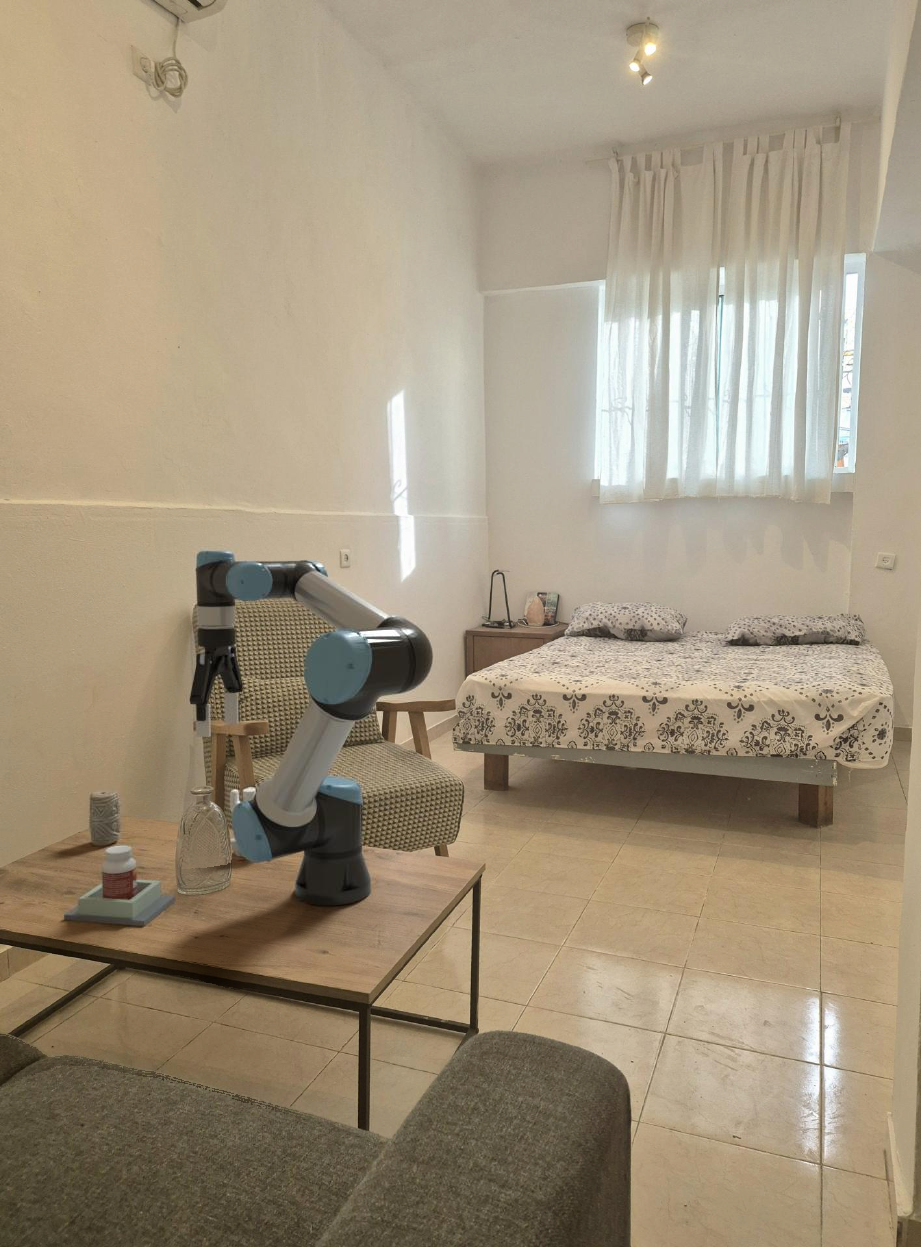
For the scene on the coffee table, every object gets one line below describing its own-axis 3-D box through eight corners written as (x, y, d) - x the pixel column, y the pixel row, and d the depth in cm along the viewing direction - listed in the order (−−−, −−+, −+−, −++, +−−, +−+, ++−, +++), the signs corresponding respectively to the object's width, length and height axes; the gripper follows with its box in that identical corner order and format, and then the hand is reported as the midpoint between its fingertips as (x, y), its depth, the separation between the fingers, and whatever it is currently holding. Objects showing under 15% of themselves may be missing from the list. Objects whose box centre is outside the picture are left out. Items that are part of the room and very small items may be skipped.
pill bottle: (140, 908, 170) (139, 850, 169) (106, 915, 166) (105, 856, 165) (132, 897, 175) (131, 841, 174) (99, 903, 171) (97, 847, 171)
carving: (83, 846, 207) (81, 795, 206) (104, 836, 214) (103, 787, 213) (107, 849, 205) (105, 797, 204) (127, 838, 212) (126, 789, 211)
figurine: (260, 861, 198) (260, 794, 197) (223, 856, 201) (222, 791, 199) (277, 850, 205) (276, 786, 203) (240, 846, 208) (239, 782, 206)
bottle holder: (175, 900, 176) (175, 881, 175) (144, 926, 164) (143, 905, 164) (100, 895, 178) (99, 875, 178) (64, 919, 167) (63, 899, 166)
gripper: (224, 621, 195) (226, 717, 197) (169, 632, 171) (172, 741, 173) (257, 621, 194) (258, 718, 196) (207, 633, 169) (208, 743, 171)
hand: (218, 729), depth 184 cm, fingers open, 13 cm apart
